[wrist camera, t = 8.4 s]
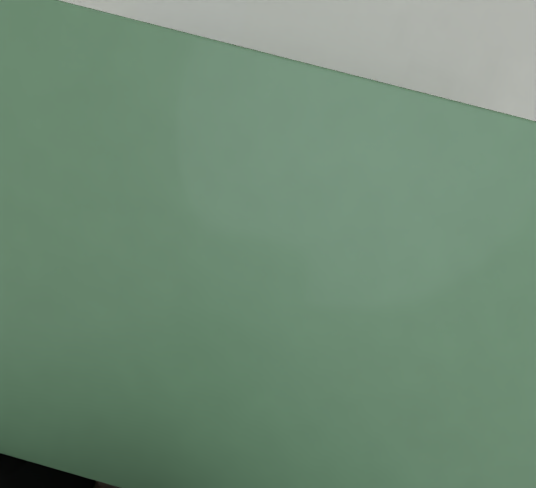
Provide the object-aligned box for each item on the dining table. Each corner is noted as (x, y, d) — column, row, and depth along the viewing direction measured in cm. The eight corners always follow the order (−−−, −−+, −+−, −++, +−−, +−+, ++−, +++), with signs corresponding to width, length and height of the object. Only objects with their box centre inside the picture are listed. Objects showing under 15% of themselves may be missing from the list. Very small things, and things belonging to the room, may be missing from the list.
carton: (342, 496, 13) (392, 847, 6) (55, 414, 14) (-192, 667, 7) (467, 171, 10) (804, 180, 4) (97, 75, 11) (-267, -91, 4)
